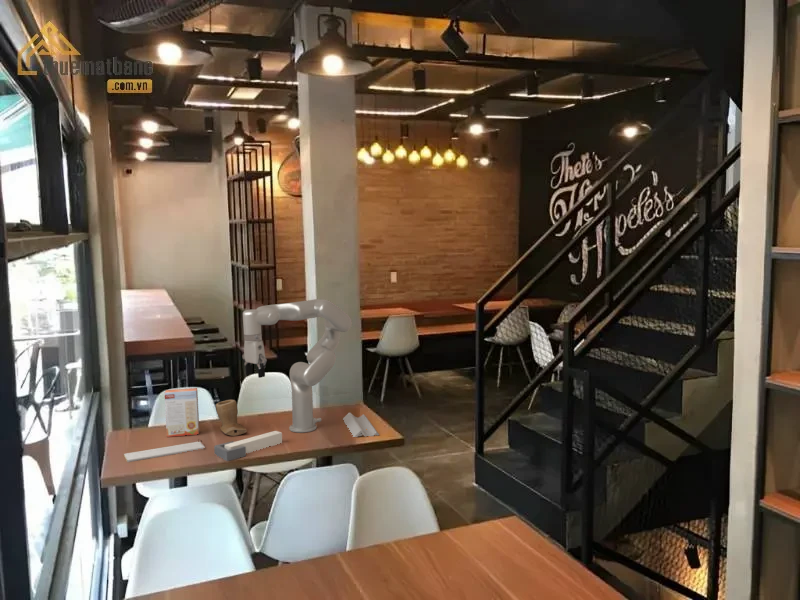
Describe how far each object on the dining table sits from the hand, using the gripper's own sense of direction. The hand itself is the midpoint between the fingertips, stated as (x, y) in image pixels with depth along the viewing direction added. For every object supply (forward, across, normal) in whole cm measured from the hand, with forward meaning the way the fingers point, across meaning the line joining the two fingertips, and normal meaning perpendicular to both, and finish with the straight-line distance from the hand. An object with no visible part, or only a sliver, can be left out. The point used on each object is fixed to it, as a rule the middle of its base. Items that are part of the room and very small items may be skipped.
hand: (255, 375), depth 292 cm
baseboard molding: (+28, +14, +38) cm, 49 cm away
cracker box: (+28, +30, +21) cm, 46 cm away
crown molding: (+31, -21, -42) cm, 56 cm away
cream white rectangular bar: (+29, -12, +10) cm, 33 cm away
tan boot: (+29, +16, +4) cm, 33 cm away
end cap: (+28, -11, +22) cm, 37 cm away
